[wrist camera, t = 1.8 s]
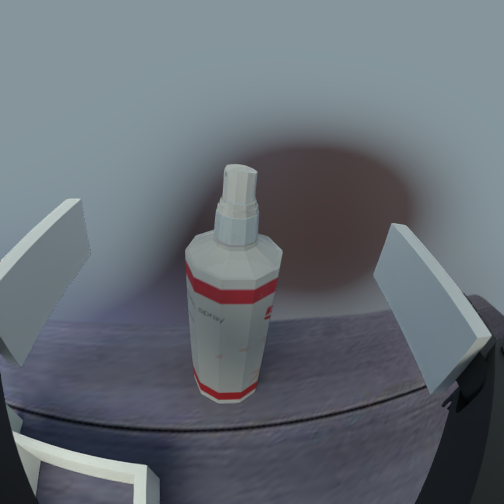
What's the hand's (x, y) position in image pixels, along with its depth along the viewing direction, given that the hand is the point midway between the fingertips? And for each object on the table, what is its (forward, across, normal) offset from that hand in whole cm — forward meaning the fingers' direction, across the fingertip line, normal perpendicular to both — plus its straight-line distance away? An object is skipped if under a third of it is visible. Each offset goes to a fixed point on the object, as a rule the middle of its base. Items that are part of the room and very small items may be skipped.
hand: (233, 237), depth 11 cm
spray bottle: (+10, 0, -25) cm, 27 cm away
